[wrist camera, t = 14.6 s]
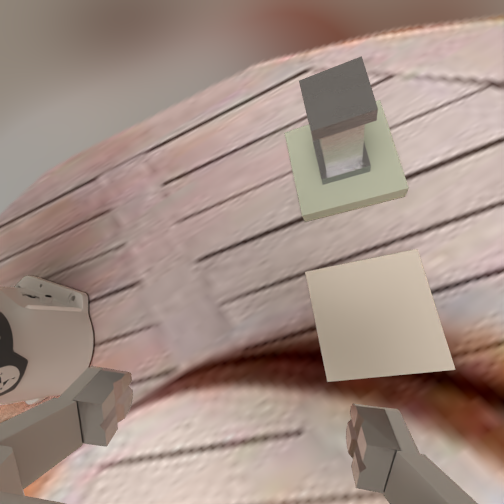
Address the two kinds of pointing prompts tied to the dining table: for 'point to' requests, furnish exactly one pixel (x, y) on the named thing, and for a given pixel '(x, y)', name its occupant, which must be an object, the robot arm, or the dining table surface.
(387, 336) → the stand
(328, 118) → the post
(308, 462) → the dining table surface
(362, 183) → the stand
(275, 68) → the dining table surface
